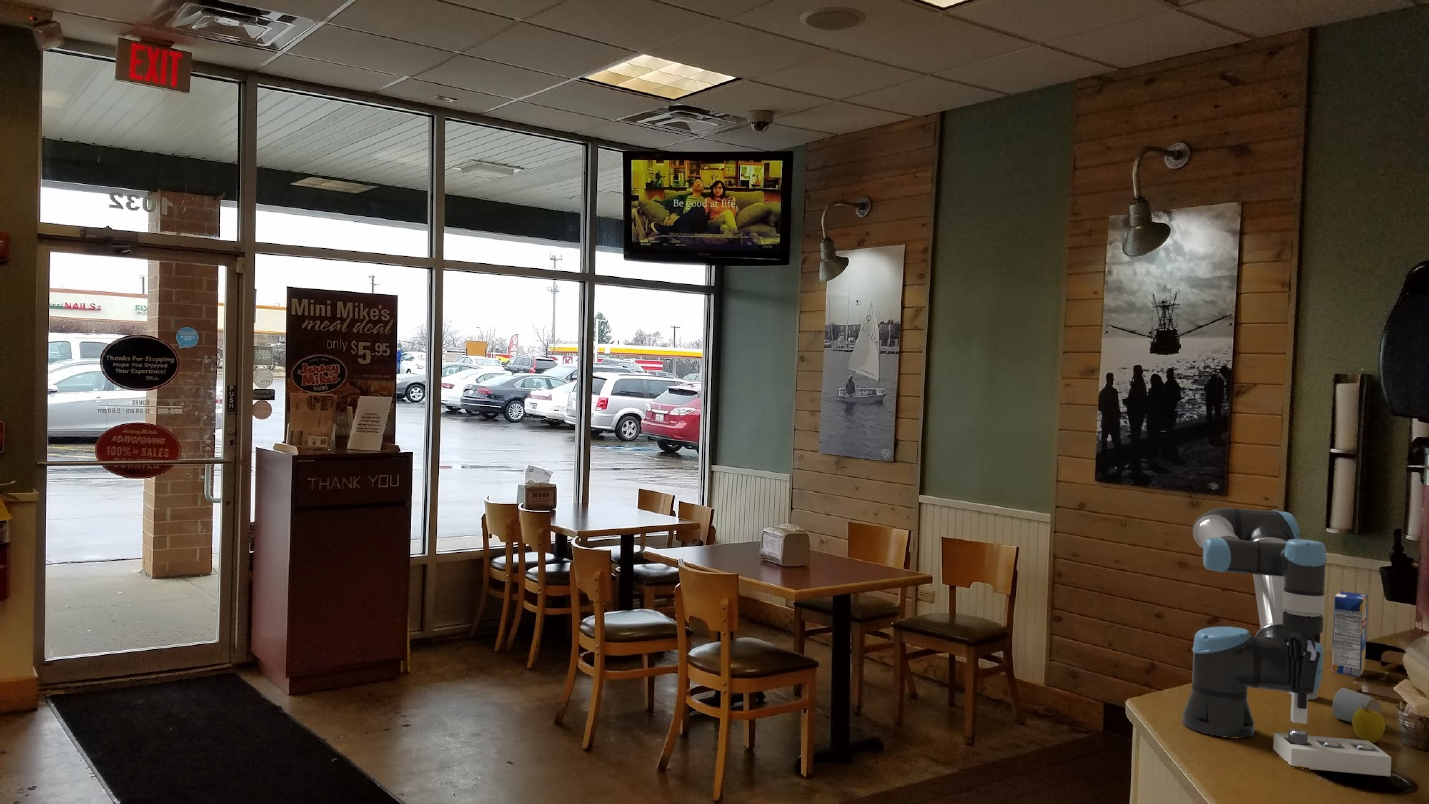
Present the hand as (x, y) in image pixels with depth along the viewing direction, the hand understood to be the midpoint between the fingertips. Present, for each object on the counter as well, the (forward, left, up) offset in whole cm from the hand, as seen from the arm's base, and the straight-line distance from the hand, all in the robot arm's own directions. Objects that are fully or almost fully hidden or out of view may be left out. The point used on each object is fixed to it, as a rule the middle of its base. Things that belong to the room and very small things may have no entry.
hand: (1298, 721), depth 213 cm
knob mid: (+7, 0, -8) cm, 10 cm away
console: (+7, 0, -8) cm, 11 cm away
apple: (+22, +18, -9) cm, 29 cm away
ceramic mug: (+26, +33, -9) cm, 42 cm away
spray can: (+21, +52, -9) cm, 57 cm away
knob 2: (+13, 0, -8) cm, 15 cm away
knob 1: (0, 0, -6) cm, 6 cm away
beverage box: (+45, +84, -9) cm, 96 cm away
